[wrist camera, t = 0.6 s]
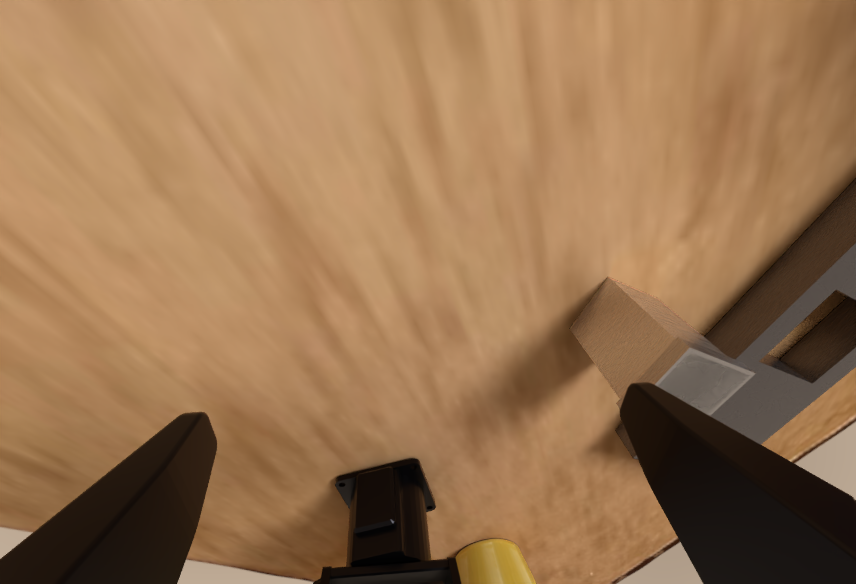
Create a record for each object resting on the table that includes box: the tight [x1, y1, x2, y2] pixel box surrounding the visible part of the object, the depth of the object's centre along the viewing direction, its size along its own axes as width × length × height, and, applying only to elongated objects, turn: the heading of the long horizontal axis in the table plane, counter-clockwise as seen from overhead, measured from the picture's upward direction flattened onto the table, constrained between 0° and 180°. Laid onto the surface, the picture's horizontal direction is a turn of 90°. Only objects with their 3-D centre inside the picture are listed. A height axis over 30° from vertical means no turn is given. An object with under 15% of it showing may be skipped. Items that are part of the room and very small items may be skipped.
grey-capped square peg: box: [569, 277, 756, 416], centre depth 21 cm, size 4×4×7 cm
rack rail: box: [615, 179, 856, 459], centre depth 25 cm, size 26×9×2 cm, turn 155°
